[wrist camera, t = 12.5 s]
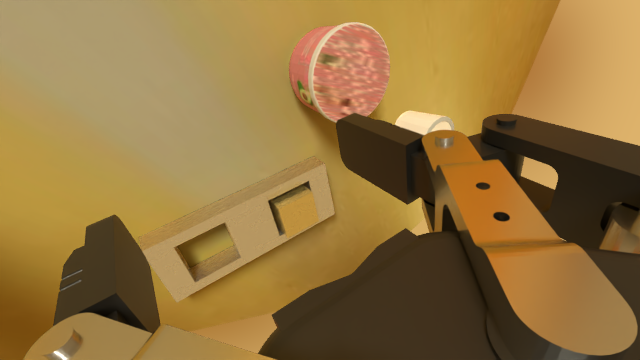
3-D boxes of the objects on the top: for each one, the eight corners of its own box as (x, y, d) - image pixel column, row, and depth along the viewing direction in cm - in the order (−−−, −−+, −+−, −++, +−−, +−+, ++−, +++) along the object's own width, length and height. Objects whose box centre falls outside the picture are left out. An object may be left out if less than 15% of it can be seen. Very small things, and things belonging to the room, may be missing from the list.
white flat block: (172, 286, 41) (176, 302, 38) (138, 237, 36) (141, 251, 34) (324, 205, 49) (334, 213, 47) (313, 156, 45) (324, 163, 42)
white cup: (385, 124, 50) (419, 136, 44) (415, 98, 51) (451, 107, 46) (397, 154, 54) (429, 169, 49) (424, 130, 55) (458, 141, 50)
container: (286, 11, 35) (324, 8, 29) (357, 34, 41) (401, 36, 35) (271, 104, 38) (303, 120, 32) (339, 114, 44) (376, 128, 38)
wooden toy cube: (272, 220, 45) (287, 238, 42) (263, 192, 43) (278, 209, 39) (301, 205, 47) (318, 221, 43) (294, 177, 44) (312, 192, 41)
